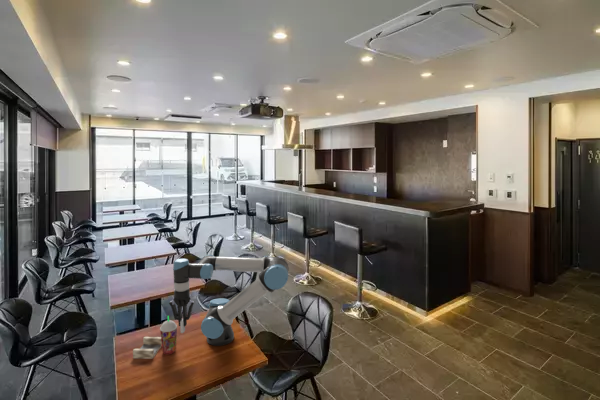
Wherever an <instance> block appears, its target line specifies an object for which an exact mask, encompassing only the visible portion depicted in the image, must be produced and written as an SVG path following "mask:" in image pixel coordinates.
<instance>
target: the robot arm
mask: <svg viewBox="0 0 600 400" xmlns="http://www.w3.org/2000/svg"><path fill="white" fill-rule="evenodd" d="M172 269H173V289H174V290H173V296H174V298H173V299H172V300H170V301H169V302H168V304H169V305H170V307H171V311H172V314H173V317H174V320H176V321H178V322H177V323H178V327H180V330H179V332H180V334H184V333H185V331H186V326H187V324H188V323H187V322H188V320H190V318H191V316H192V311H193V307H194V305H195V300H192V299H191V297H190V295H191V293H190V279H201V280H206V279H211V278H213V273H214V271H215V272H216V271H217V272H218V271H220V272H221V271H222V272H223V271H224V272H241V273H242V272H244V273H245V272H248V273H258V274H257V278H256V279H255V280H254V281H253V282H252V283H250V284H249V285H247V287H245V288H244V289H242V291H240V292H239V293H238V294H236V295H235V296H234V297H233V298H231V299H228V298H223V297H222V298H221V297H220V298H214V299H211V300H210V301H209V305H208V306H209V310H208V311H207V313H206V315H205V316H204V319H202V321H201V325H200V330H201V333H202V334H203V336H205V337H206V342H207V343H208V344H209V345H211V346H214V347H215V346H216V347H218V346H219V347H221V346H226V345H228V344H230V343H232V342H233V341H234V338H235V333H234V330H233V328H232V327H233V326H232V324H233V322H234V319H235V318H236V317H238V316H239V315H240V314H242V313H243V312H245V310H247V309H248V308H249V307H250V306H253V304H255V303H256V302H257V301H258V300H260V299H261V298H262V297H264V296H265V295H266V294H267V293H271V294H272V293H273V292H275V291H276V290H281V289H282V288H283V287H285V286H286V284H287V282H288V280H289V271H290V268H289V264H288V263H287V261H286V260H285V259H284V258H282V257H278V256H263V257H261V258H259V257H231V256H215V255H213V254H210V253H209V254H206V255H204V256H203V257H202V258H201V259H200V261H199V262H198V263H190V262H189V259H188V258H177V259H175V260H174V261H173V268H172ZM188 304H189V306H188ZM187 307H188V309H187Z"/></svg>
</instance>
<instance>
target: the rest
mask: <svg viewBox="0 0 600 400" xmlns="http://www.w3.org/2000/svg"><path fill="white" fill-rule="evenodd" d="M142 339H143V340H142V341H143V344H142V345H141V347H140V348H133V350H132V359H146V360H147V359H149V360H151V359H154V358H155V356H156V355H157V354H158V352H159V351H160V350H161V349H162V342H161V336H144V337H142Z"/></svg>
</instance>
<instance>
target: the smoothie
mask: <svg viewBox="0 0 600 400" xmlns="http://www.w3.org/2000/svg"><path fill="white" fill-rule="evenodd" d="M177 329H178V324H177V323H176V322H175V321H174V320H171V319H170V315H167V320H165V321H163V323H162V324H161V326H160V327H159V331H160V337H161V342H162V347H161V349H162V352H163V354H164V355H172V354H174V353H175V351H176V350H177V334H178V330H177Z"/></svg>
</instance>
